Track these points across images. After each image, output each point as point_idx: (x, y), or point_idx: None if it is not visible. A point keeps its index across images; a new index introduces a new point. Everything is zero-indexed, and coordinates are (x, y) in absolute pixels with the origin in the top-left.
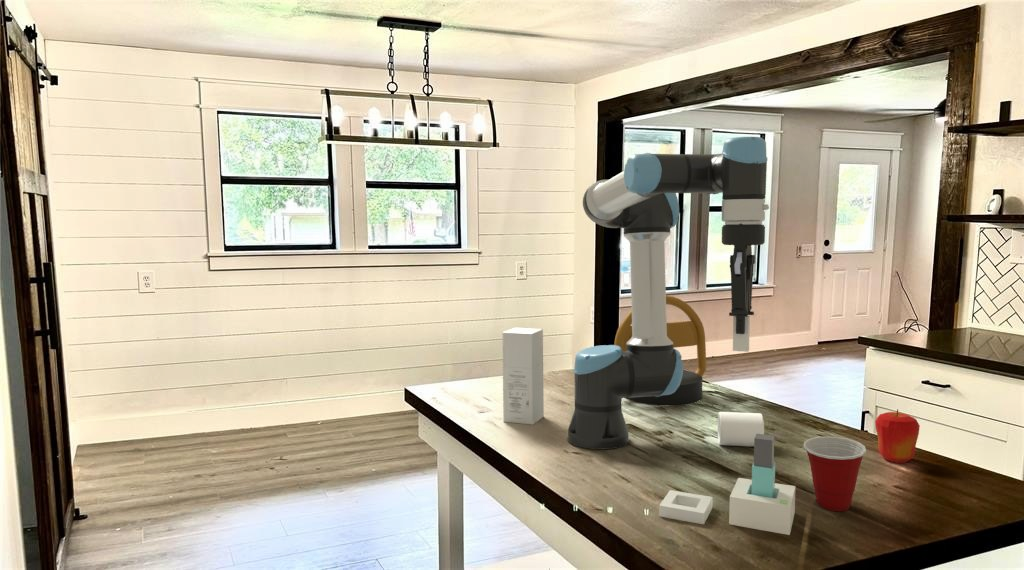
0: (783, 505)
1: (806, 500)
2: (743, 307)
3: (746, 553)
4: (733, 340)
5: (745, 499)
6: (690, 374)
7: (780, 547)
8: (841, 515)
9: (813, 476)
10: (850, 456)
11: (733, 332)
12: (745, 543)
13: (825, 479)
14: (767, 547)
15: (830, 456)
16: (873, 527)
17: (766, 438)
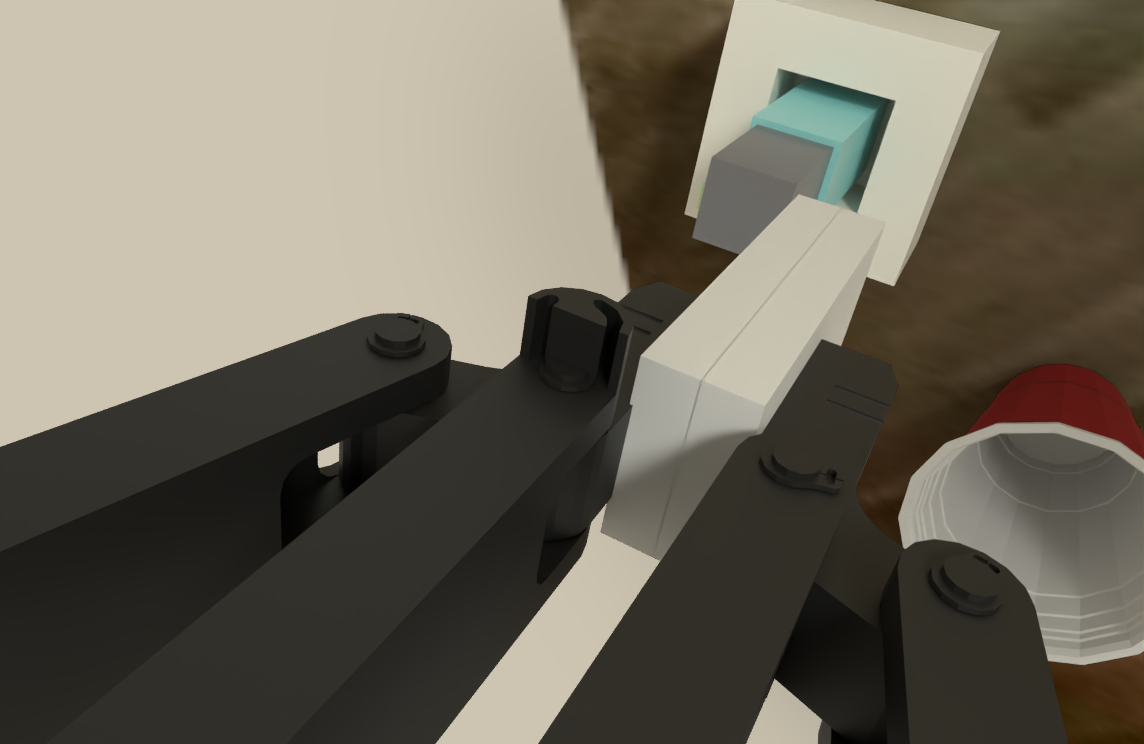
0: (690, 191)
1: (1113, 336)
2: (299, 488)
3: (613, 24)
4: (762, 235)
5: (722, 56)
6: None
7: (675, 140)
8: (959, 407)
9: (1047, 396)
10: None
11: (731, 268)
12: (680, 29)
13: (978, 423)
14: (666, 99)
15: (914, 480)
16: (867, 461)
17: (718, 217)
